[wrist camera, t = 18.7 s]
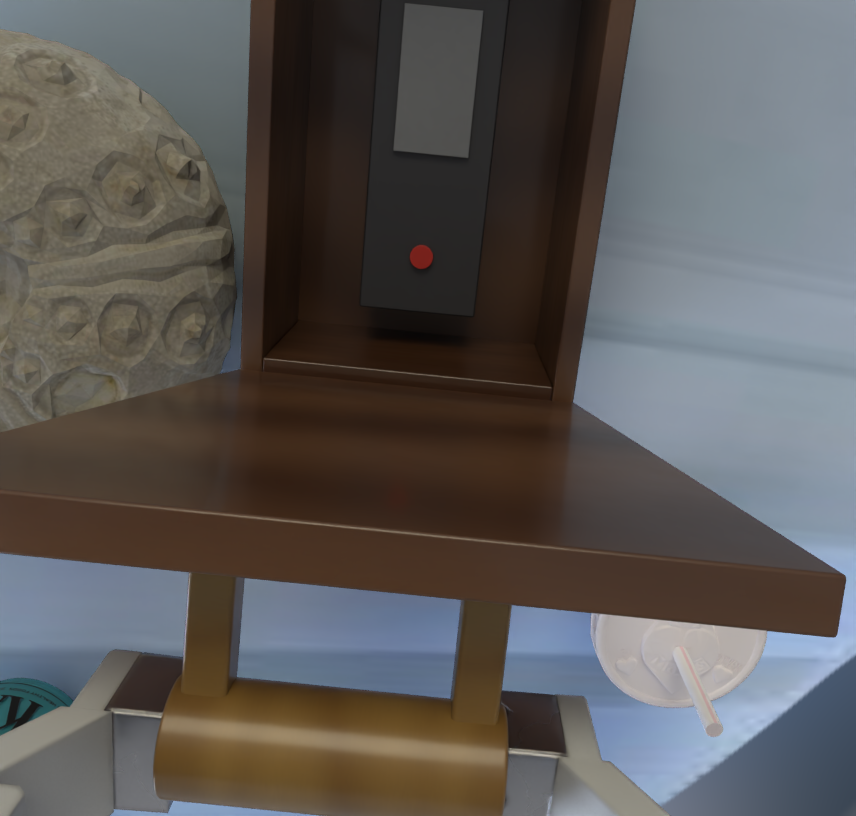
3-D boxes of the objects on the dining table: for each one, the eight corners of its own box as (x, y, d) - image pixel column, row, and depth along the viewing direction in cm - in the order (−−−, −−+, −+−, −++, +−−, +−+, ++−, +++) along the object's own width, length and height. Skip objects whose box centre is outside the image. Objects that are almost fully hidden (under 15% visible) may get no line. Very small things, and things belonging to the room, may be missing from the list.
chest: (303, -140, 31) (256, -232, 24) (615, -109, 31) (666, -191, 24) (283, 332, 37) (239, 376, 29) (548, 358, 37) (572, 410, 29)
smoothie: (553, 576, 40) (602, 787, 27) (570, 455, 38) (632, 617, 25) (682, 588, 40) (796, 805, 27) (706, 467, 38) (842, 636, 25)
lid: (-162, 473, 10) (-168, 862, 10) (849, 575, 10) (786, 958, 10) (237, 369, 29) (227, 505, 30) (575, 402, 29) (558, 539, 30)
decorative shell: (327, 166, 35) (279, 171, 25) (176, 506, 40) (88, 618, 30) (-75, -41, 33) (-294, -121, 23) (-180, 344, 38) (-395, 408, 28)
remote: (393, -69, 31) (386, -97, 28) (512, -57, 31) (519, -84, 28) (367, 292, 35) (358, 307, 32) (472, 303, 35) (474, 319, 32)
